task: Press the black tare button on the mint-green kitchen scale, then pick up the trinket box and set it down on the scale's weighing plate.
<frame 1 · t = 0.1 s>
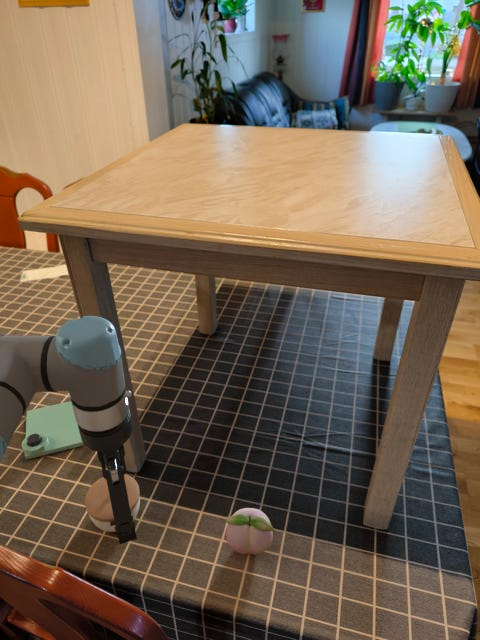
hand: (122, 504, 76), 18 cm above the table, tool pointing down, fingers open, 13 cm apart
tare button: (34, 440, 106), point 4 cm above the table, slide at 0.1 cm
trinket box: (117, 518, 94), on the table
decorative fruit: (248, 545, 89), on the table
scale: (65, 428, 114), on the table
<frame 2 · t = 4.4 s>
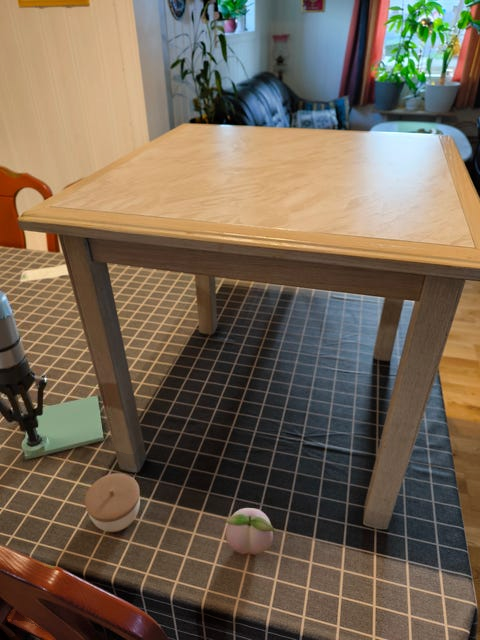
hand: (33, 437, 105), 5 cm above the table, tool pointing down, fingers closed
tare button: (34, 440, 106), point 4 cm above the table, slide at 0.0 cm, touching gripper
everything else where it was.
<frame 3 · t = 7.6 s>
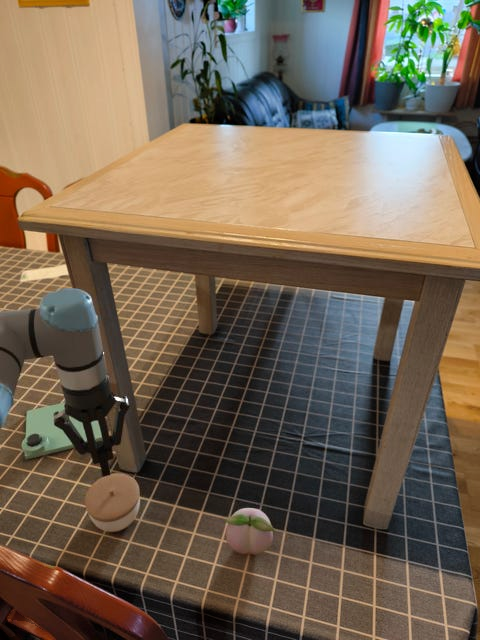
hand: (106, 470, 86), 15 cm above the table, tool pointing down, fingers closed
tare button: (34, 440, 106), point 4 cm above the table, slide at 0.1 cm
everything else where it was.
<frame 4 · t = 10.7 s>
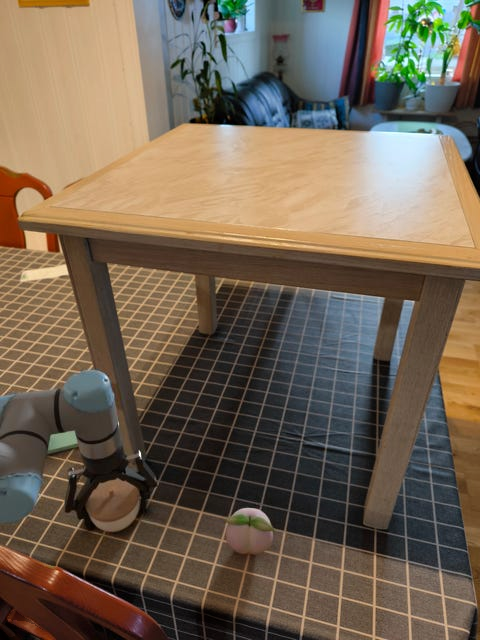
hand: (117, 516, 93), 0 cm above the table, tool pointing down, fingers closed on trinket box, 11 cm apart
trinket box: (117, 518, 94), on the table, touching gripper
everything else where it was.
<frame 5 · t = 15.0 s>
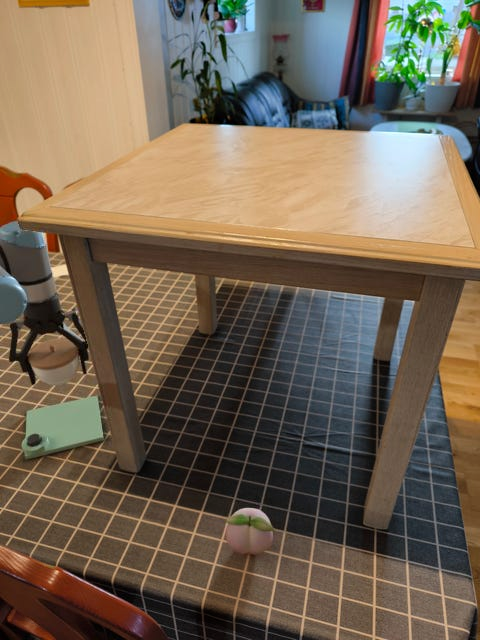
hand: (59, 375, 105), 18 cm above the table, tool pointing down, fingers closed on trinket box, 11 cm apart
trinket box: (60, 378, 105), point 17 cm above the table, touching gripper
everything else where it was.
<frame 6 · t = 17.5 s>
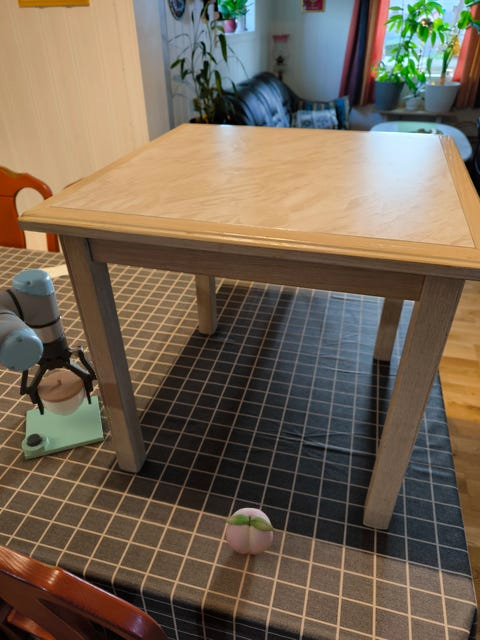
hand: (66, 405, 113), 6 cm above the table, tool pointing down, fingers closed on trinket box, 11 cm apart
trinket box: (66, 407, 113), point 6 cm above the table, touching gripper
everything else where it was.
when the fingers open (2 cm above the table, at t = 19.3 s): trinket box stays where it is, resting on scale.
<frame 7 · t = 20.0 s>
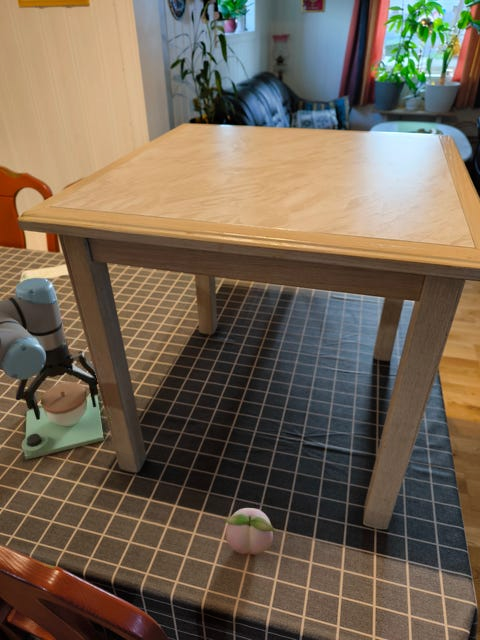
hand: (66, 409, 113), 5 cm above the table, tool pointing down, fingers open, 13 cm apart
trinket box: (69, 418, 115), point 2 cm above the table, touching scale
everything else where it was.
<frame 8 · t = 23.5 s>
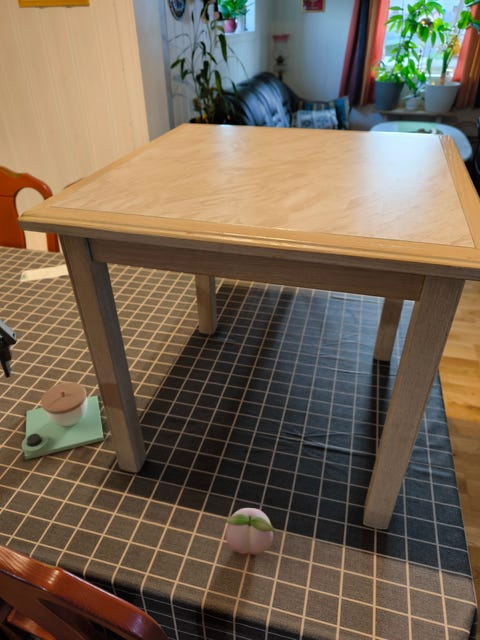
nothing on the table moved.
at the end: tare button pushed in 0.8 cm at the most during the clip, back to where it started at the end; trinket box inside the target area on the scale (1.4 cm from its centre), point 1.7 cm above the scale's base; trinket box touching scale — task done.
